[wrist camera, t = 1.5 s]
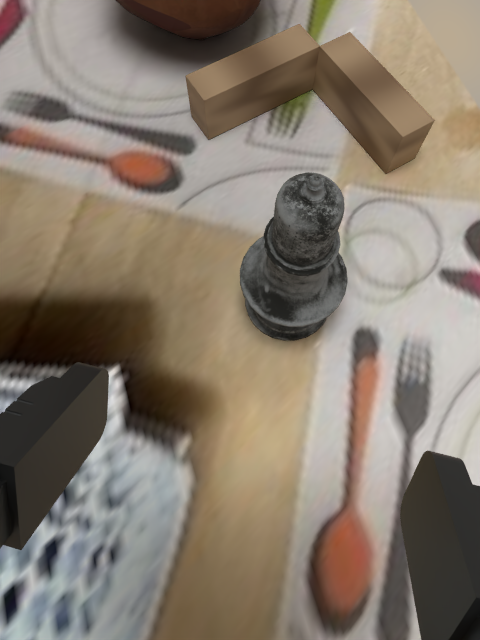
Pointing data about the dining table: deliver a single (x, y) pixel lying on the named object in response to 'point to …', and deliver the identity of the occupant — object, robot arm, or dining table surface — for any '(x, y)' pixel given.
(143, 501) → the dining table surface
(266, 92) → the v block
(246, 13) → the butternut squash
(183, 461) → the dining table surface
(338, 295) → the salt shaker
